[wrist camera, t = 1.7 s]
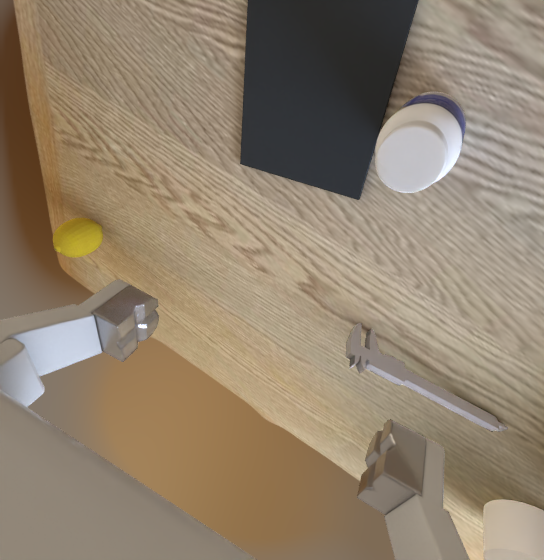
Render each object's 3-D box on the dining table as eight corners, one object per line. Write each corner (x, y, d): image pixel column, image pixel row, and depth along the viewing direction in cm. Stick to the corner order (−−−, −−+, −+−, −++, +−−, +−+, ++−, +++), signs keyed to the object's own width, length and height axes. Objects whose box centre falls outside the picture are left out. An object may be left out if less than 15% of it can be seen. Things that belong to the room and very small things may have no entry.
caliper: (354, 324, 40) (337, 360, 36) (359, 319, 39) (343, 356, 35) (500, 428, 39) (502, 480, 34) (508, 425, 38) (511, 478, 33)
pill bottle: (405, 84, 25) (379, 102, 19) (479, 98, 24) (478, 122, 17) (383, 155, 29) (355, 190, 22) (447, 171, 27) (436, 213, 21)
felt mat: (455, -126, 19) (455, -129, 19) (359, 198, 32) (358, 200, 31) (256, -127, 23) (253, -130, 22) (242, 163, 35) (240, 164, 35)
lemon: (115, 225, 52) (70, 249, 46) (112, 248, 55) (69, 272, 50) (88, 203, 52) (39, 224, 46) (87, 227, 56) (41, 249, 50)
